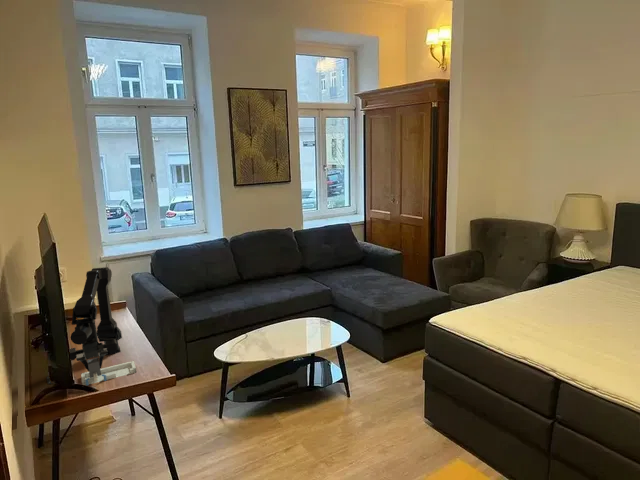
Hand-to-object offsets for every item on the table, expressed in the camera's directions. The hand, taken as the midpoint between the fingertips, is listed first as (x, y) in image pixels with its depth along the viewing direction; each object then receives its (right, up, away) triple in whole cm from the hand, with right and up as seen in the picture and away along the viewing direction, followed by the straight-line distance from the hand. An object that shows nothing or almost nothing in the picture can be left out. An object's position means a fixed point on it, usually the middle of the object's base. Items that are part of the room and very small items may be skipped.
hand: (94, 369), depth 186 cm
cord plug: (+1, -3, -2) cm, 4 cm away
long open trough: (+5, -3, +3) cm, 7 cm away
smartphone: (-13, -4, +5) cm, 15 cm away
